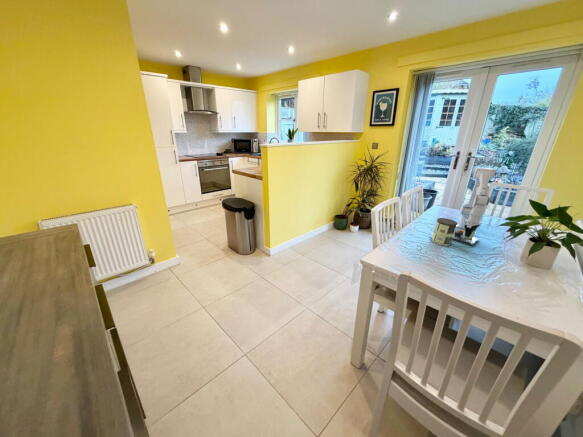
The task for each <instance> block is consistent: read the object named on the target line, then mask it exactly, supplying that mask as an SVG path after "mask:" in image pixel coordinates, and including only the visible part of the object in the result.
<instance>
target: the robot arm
mask: <svg viewBox="0 0 583 437" xmlns="http://www.w3.org/2000/svg"><path fill="white" fill-rule="evenodd" d="M496 172H497V169H496V168H487V167H478V166H477V167H476V168H475V169H474V172H473V175H472V179H474V181H475V182H474V186H473V187H472V190H471V191H472V192H471V193H470V197H469V199H468V201H466V202H463V203H462V205H461V207H460V210H459V214H460V218H459V221H458V222H457V225H456V228H459V229H461V230H465V236H466V237H470V235H471V234H472V232H473V231H475V232H476V231H477V229H478V228H479V227H480V226H481V220H482V218H483V215H484V213H485V209H486V207H488V206H489V204H490V200H491V196H490V195H489V194H490V187H489V186H488V184H489V181H490V180H491V181H492V179H493V178H494V177H495V175H496Z"/></svg>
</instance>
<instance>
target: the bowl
mask: <svg viewBox="0 0 583 437" xmlns="http://www.w3.org/2000/svg"><path fill="white" fill-rule="evenodd" d="M463 232H464V233H463V237H465V238H467V239H472V238H475V235H476V230H475V231H473V232H472V234H471V235H470V237H466V236H465V229H463Z"/></svg>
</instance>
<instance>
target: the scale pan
mask: <svg viewBox="0 0 583 437" xmlns="http://www.w3.org/2000/svg"><path fill="white" fill-rule="evenodd" d="M461 238H463V239H466V240H470V241H474V240H475V238H476V237H474V238H472V239H467V238H465V237H463V235H461Z"/></svg>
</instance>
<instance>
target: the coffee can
mask: <svg viewBox="0 0 583 437" xmlns="http://www.w3.org/2000/svg"><path fill="white" fill-rule="evenodd" d="M456 225H458V222H457V221H455V220H453V219H450V218H445V217H439V218H437V219H436V224H435V226H434V230H433V233H432V237H431V241H432V242H433V243H434V244H437V245H440V246H450V245H451V244H452V241H453V240H452V237H453V235H454V234H455V231H456V228H457V227H456Z"/></svg>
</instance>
